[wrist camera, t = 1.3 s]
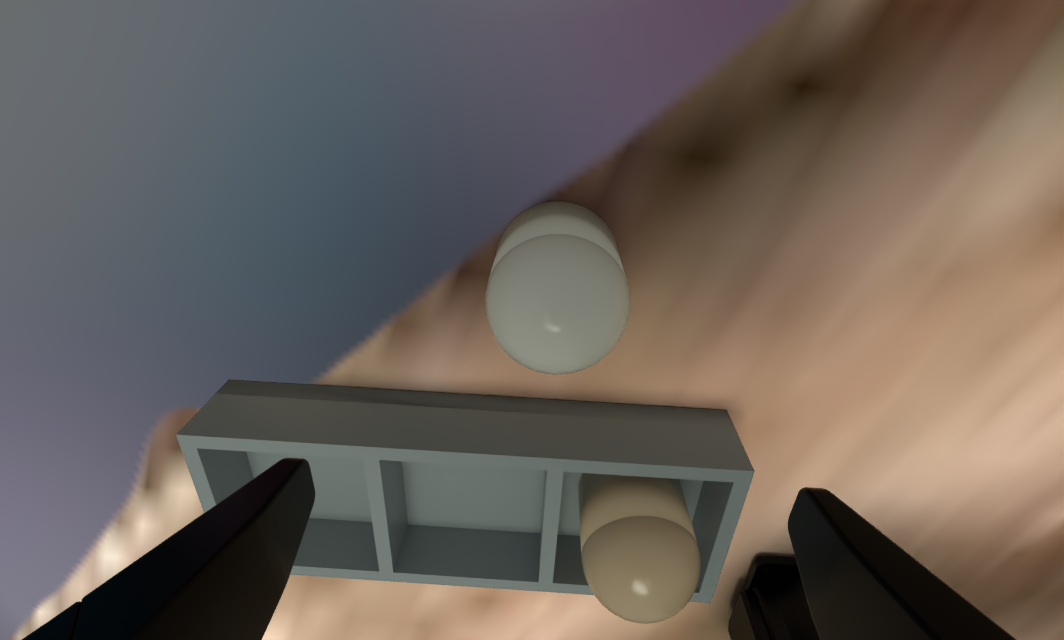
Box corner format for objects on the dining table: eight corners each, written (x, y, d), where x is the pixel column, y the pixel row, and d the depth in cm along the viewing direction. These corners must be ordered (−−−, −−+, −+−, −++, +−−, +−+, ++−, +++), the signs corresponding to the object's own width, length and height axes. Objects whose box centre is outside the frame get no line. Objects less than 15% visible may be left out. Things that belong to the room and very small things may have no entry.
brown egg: (688, 453, 22) (727, 575, 17) (670, 526, 24) (700, 653, 19) (582, 447, 22) (590, 566, 17) (574, 520, 24) (578, 645, 19)
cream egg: (625, 204, 18) (651, 267, 13) (610, 317, 20) (627, 408, 15) (497, 197, 18) (474, 257, 13) (496, 310, 20) (476, 399, 15)
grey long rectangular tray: (726, 410, 22) (754, 471, 19) (691, 534, 25) (710, 602, 22) (228, 379, 22) (175, 434, 19) (264, 506, 26) (225, 570, 23)
